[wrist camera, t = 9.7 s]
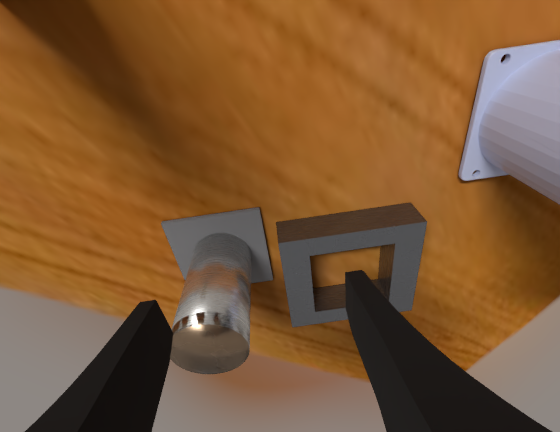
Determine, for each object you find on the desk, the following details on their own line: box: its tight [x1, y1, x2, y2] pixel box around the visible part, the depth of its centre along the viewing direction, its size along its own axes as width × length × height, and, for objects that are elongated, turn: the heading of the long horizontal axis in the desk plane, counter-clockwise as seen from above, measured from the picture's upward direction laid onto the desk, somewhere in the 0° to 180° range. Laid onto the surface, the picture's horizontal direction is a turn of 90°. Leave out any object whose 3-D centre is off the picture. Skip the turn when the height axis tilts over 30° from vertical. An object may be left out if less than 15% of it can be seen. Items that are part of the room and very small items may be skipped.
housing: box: [276, 203, 427, 327], centre depth 24 cm, size 10×9×2 cm
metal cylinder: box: [170, 233, 251, 374], centre depth 20 cm, size 4×4×8 cm
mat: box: [161, 207, 273, 283], centre depth 23 cm, size 7×7×1 cm
